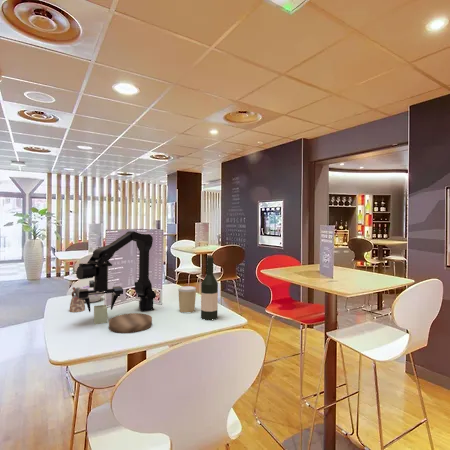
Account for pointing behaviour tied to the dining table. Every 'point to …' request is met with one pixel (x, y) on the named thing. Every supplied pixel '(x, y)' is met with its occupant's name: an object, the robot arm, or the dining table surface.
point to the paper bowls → (92, 297)
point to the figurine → (76, 301)
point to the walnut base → (130, 323)
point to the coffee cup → (187, 298)
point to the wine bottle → (209, 293)
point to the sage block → (100, 314)
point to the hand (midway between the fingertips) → (100, 310)
